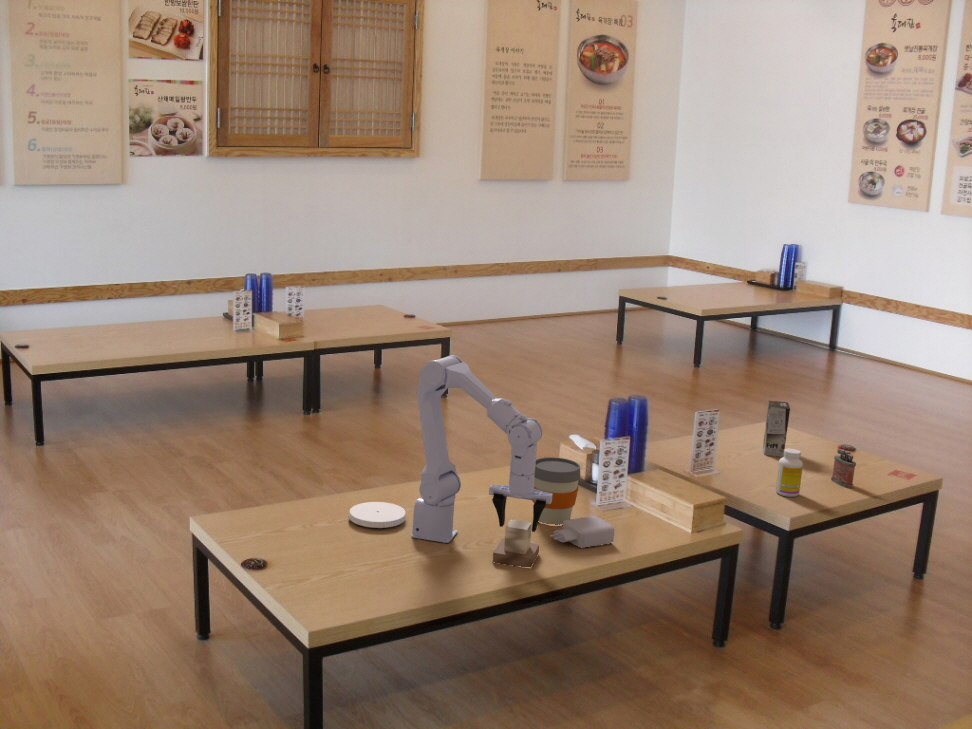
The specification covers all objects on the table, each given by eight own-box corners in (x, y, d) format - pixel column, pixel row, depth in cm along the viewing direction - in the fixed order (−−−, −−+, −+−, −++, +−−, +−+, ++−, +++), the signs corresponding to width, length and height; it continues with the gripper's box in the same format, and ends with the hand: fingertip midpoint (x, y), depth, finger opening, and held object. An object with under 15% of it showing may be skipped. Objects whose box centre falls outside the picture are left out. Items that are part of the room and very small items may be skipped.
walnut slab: (492, 564, 250) (493, 552, 250) (501, 550, 259) (502, 538, 258) (530, 570, 248) (531, 558, 248) (538, 556, 257) (539, 544, 256)
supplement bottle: (803, 497, 310) (809, 454, 307) (783, 498, 308) (788, 454, 305) (790, 489, 316) (796, 447, 313) (770, 490, 314) (776, 447, 311)
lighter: (855, 487, 321) (860, 455, 319) (846, 488, 320) (850, 456, 318) (837, 478, 328) (841, 447, 326) (828, 479, 327) (832, 447, 325)
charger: (541, 539, 266) (591, 532, 274) (561, 553, 259) (613, 545, 266) (542, 521, 265) (593, 514, 273) (563, 535, 258) (614, 527, 265)
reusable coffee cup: (536, 530, 272) (540, 473, 268) (521, 512, 283) (525, 457, 280) (583, 528, 275) (588, 472, 272) (566, 510, 287) (571, 456, 284)
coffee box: (784, 457, 347) (790, 408, 343) (763, 455, 348) (769, 406, 344) (782, 449, 355) (788, 401, 352) (762, 447, 356) (768, 399, 353)
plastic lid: (376, 536, 262) (376, 526, 262) (337, 519, 271) (337, 510, 270) (416, 522, 273) (417, 513, 272) (378, 507, 281) (378, 497, 281)
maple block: (504, 550, 251) (505, 526, 250) (509, 543, 256) (511, 519, 254) (525, 554, 250) (526, 529, 248) (530, 546, 254) (531, 522, 253)
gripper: (487, 472, 247) (483, 528, 250) (549, 482, 243) (545, 538, 246) (494, 463, 253) (491, 518, 256) (555, 472, 250) (551, 528, 253)
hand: (517, 527), depth 252 cm, fingers open, 7 cm apart
